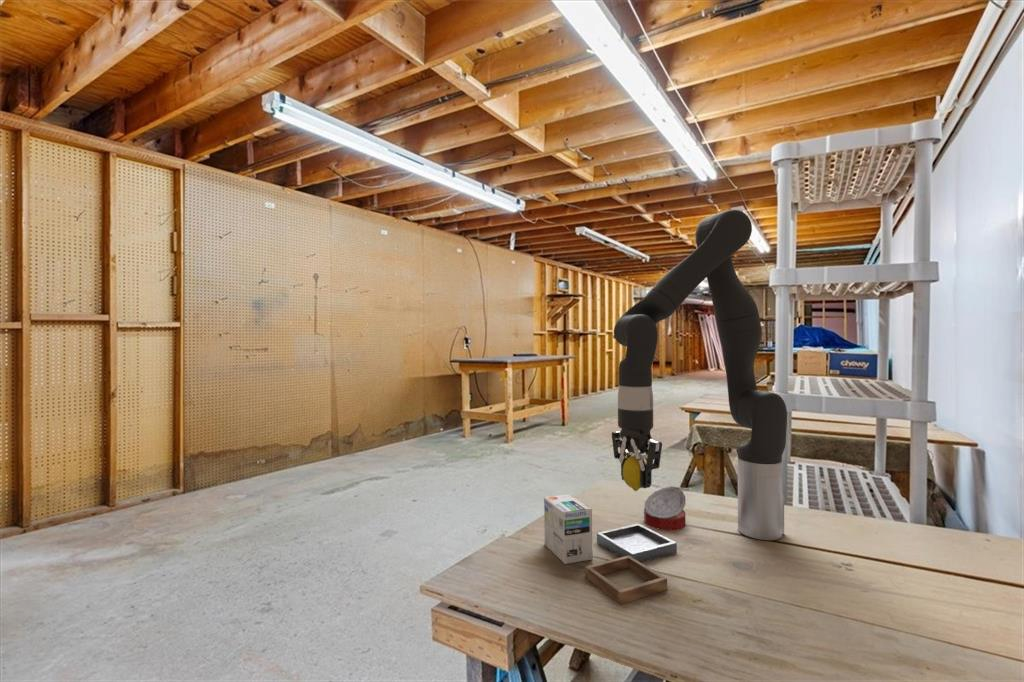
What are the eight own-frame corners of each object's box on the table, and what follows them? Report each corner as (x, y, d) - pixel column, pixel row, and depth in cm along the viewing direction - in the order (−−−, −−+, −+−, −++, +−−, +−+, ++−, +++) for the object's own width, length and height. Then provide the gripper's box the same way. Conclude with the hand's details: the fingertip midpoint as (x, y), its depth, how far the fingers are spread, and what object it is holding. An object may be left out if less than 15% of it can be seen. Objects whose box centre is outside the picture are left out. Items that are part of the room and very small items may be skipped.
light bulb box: (593, 560, 100) (593, 508, 100) (564, 565, 98) (564, 512, 98) (570, 540, 110) (569, 492, 110) (543, 544, 108) (542, 496, 108)
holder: (628, 565, 97) (628, 555, 97) (667, 589, 88) (667, 578, 88) (585, 577, 93) (585, 566, 93) (620, 604, 83) (620, 592, 83)
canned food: (686, 546, 117) (697, 517, 112) (644, 541, 117) (654, 512, 112) (675, 510, 127) (684, 482, 122) (636, 505, 127) (645, 477, 122)
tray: (638, 532, 114) (638, 523, 114) (676, 553, 103) (676, 542, 103) (596, 542, 108) (596, 532, 108) (632, 565, 98) (632, 554, 98)
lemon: (650, 489, 107) (650, 452, 107) (646, 496, 102) (646, 458, 102) (625, 485, 109) (625, 450, 109) (620, 493, 104) (620, 456, 104)
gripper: (672, 409, 101) (673, 490, 101) (627, 401, 113) (627, 473, 114) (644, 412, 97) (645, 495, 97) (601, 403, 110) (601, 477, 110)
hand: (635, 483), depth 105 cm, fingers closed on lemon, 5 cm apart
